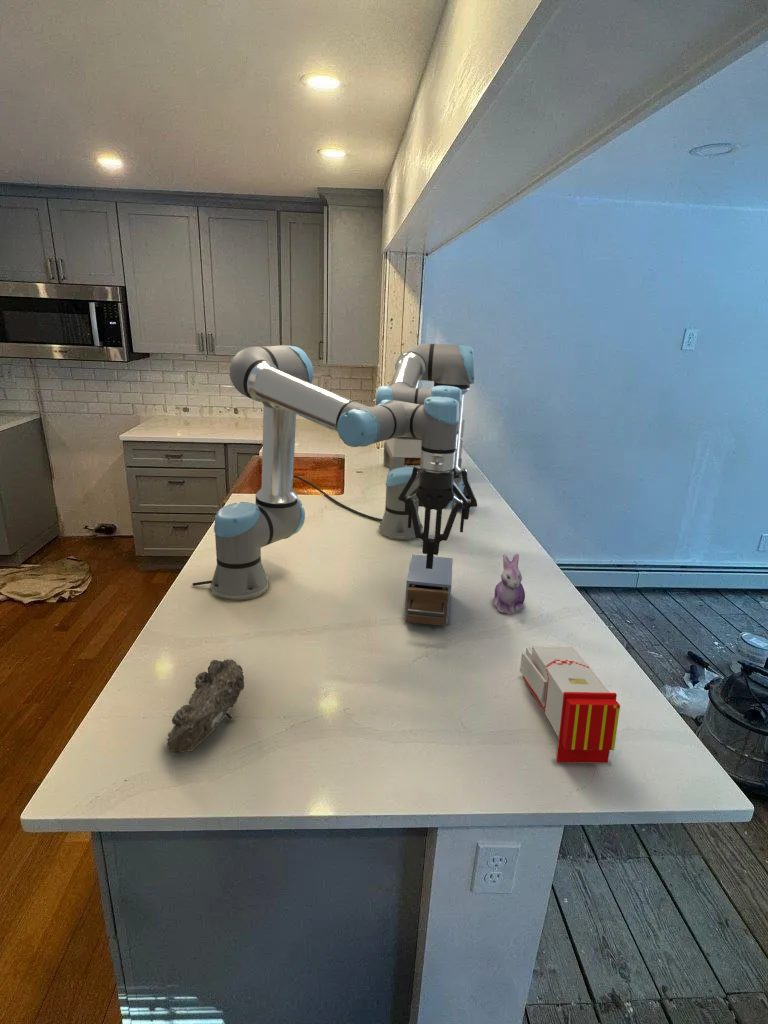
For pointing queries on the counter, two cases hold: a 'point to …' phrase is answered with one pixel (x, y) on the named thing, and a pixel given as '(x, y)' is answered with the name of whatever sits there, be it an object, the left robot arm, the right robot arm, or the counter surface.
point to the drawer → (427, 605)
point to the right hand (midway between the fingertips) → (435, 528)
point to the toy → (572, 703)
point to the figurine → (509, 587)
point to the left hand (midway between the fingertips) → (429, 566)
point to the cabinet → (430, 575)
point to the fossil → (206, 705)
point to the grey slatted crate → (408, 451)
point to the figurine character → (466, 494)
